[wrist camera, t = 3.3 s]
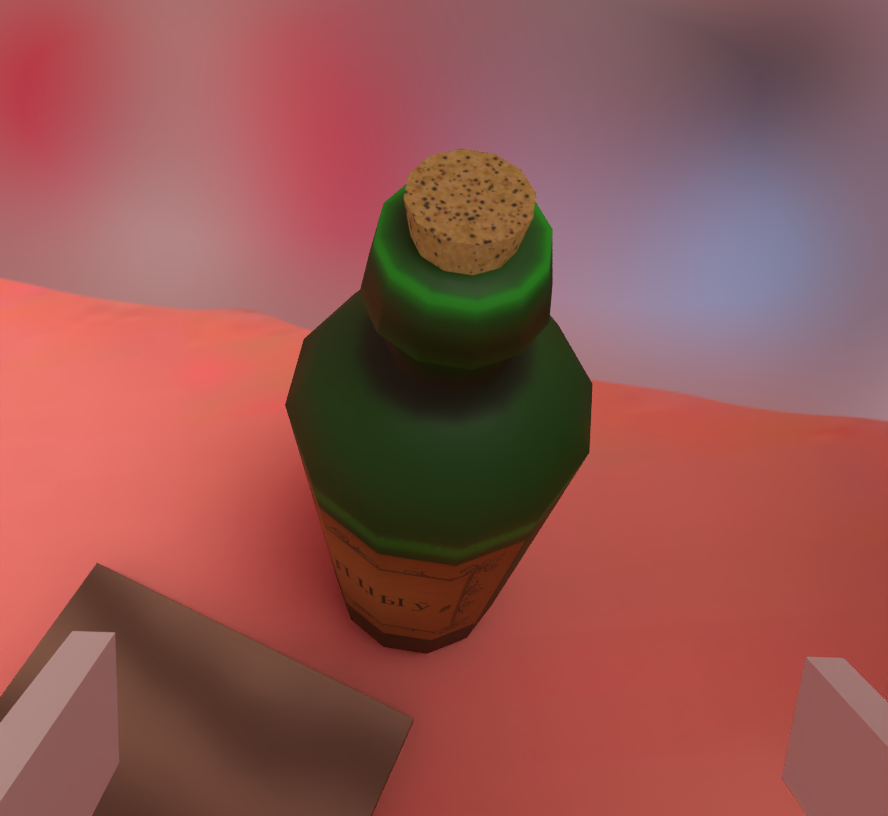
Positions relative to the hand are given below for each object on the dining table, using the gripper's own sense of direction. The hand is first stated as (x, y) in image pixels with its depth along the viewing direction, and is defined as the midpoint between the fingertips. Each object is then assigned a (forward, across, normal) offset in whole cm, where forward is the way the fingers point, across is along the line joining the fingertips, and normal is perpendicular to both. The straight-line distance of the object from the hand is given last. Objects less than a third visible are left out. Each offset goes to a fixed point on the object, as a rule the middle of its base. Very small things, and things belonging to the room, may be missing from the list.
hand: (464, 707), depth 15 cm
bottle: (+27, 0, -10) cm, 29 cm away
